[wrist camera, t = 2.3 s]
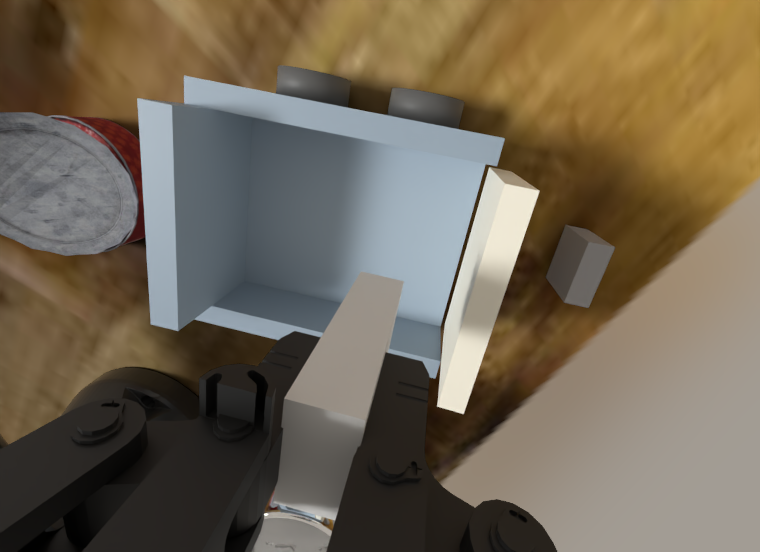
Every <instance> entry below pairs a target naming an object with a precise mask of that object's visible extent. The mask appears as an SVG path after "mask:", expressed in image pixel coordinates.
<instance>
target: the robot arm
mask: <svg viewBox="0 0 760 552" xmlns="http://www.w3.org/2000/svg"><path fill="white" fill-rule="evenodd" d="M403 284H404V281H401V280H396V279H392V278H388V277H383V276H379V275H375V274H370V273H366V272H362V271H361V272H360V274H359V275H358V277H357V279H356V280H355V282H354V284H353V285H352V287H351V289H350V290H349V292H348V294H347V295H346V297H345V299H344V300H343V302H342V303H341V305H340V307H339V308H338V310H337V312H336V313H335V315H334V317H333V318H332V320H331V322H330V323H329V325H328V327H327V328H326V330H325V332H324V333H323V335H322V337H317V336H313V335H309V334H305V333H301V332H297V331H293V332H292V333H290V334H288V335H286V336H284V337H282V338H280V339H279V340H278V341H277V343H276V344H275V345H274V346H273V348H272V349H271V350H270V353H268V354H267V355H266V356H265V358H264V359H263V361H262V363H260V364H259V365H258V366H257V367H256V366H254V365H246V364H233V365H224V366H221V367H219V368H216V369H213V370H210V371H209V372H207V373H206V374H205V375H203V376H202V377H200V378H199V398H198V397H197V396H196V395H194V394H193V393H192V392H191V391H190V390H188V389H187V388H186V387H184V386H183V385H182V384H180V383H178V382H177V381H175V380H173V379H171V378H169V377H167V376H165V375H163V374H160V373H157V372H154V371H151V370H147V369H141V368H119V369H115V370H111V371H109V372H107V373H105V374H103V375H101V376H100V377H99V378H97V379H96V380H94V381H93V382H92V383H90V384H89V385H88V386H86V387H85V388H83V389H82V390H81V391H80V392H79V393H78V394H77V395H76V396H75V398H74V399H73V400H72V402H71V403H70V404H69V406H68V407H67V408H66V410H65V411H64V412H63V414H62V415H61V416H60V417H59V418H57V419H55V420H53V421H51V422H49V423H48V424H46V425H44V426H42V427H40V428H39V429H37V430H35V431H33V432H31V433H29V434H28V435H26V436H24V437H22V438H20V439H19V440H17V441H15V442H13V443H11V444H9V445H8V443H7V442H6V441H5V440H4V438H3V437H2V436H1V435H0V552H252V549H253V547H254V545H255V543H256V541H257V539H258V536H259V534H260V532H261V529H262V525H263V521H264V513H265V507H266V505H267V503H268V501H269V499H270V497H271V495H272V493H273V490H274V488H275V493H274V502H273V503H276V504H280V505H283V506H287V507H290V508H293V509H297V510H300V511H304V512H307V513H311V514H314V515H318V516H321V517H325V518H328V519H331V520H335V523H334V526H333V530H332V533H331V537H330V540H329V544H328V547H327V551H326V552H557V550H556V548H555V546H554V544H553V542H552V540H551V539H550V537H549V536H548V534H547V532H546V531H545V529H544V528H543V526H542V525H541V524H540V523H539V522H538V521H537V520H536V519H535V518H533V516H532V515H530V514H529V513H528V512H527V511H525V510H523V509H522V508H520V507H518V506H516V505H515V504H513V503H510V502H506V501H501V500H497V499H496V500H490V501H483V502H482V503H481V504H480V505H478V506H477V507H476V508H474V507H473V506H471V505H469V504H468V503H466V502H464V501H463V500H461V499H459V498H458V497H456V496H454V495H453V494H451V493H450V492H449V491H447V490H446V489H445V488H443V487H442V486H441V485H440V483H439V482H438V481H437V480H436V479H435V478H434V476H433V475H432V473H431V472H430V470H429V468H428V466H427V463H426V460H425V436H426V420H427V405H428V404H427V402H428V389H429V373H428V371H427V369H426V367H425V365H424V363H423V361H419V360H415V359H411V358H407V357H403V356H399V355H395V354H391V353H388V350H389V346H390V342H391V337H392V333H393V328H394V324H395V319H396V315H397V311H398V306H399V302H400V297H401V293H402V288H403Z"/></svg>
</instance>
